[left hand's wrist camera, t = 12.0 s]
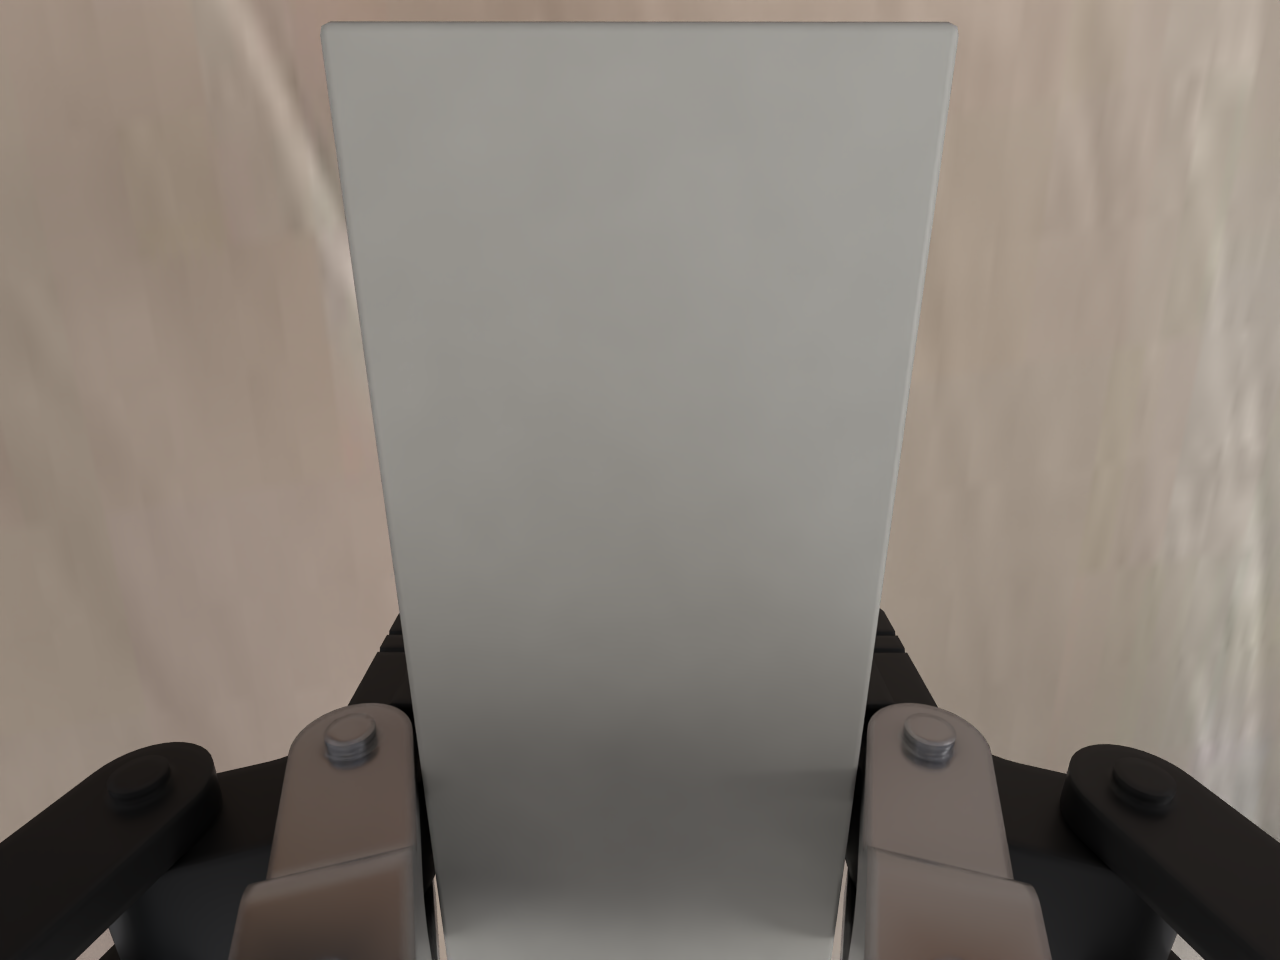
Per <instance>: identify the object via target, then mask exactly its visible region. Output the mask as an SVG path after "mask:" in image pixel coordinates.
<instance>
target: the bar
mask: <svg viewBox="0 0 1280 960" xmlns="http://www.w3.org/2000/svg"><path fill="white" fill-rule="evenodd" d="M320 37H321V44H322V52H323V59H324V66H325V73H326V81H327V88H328V95H329V102H330V110H331V117H332V124H333V132H334V139H335V146H336V153H337V161H338V168H339V175H340V182H341V190H342V197H343V204H344V212H345V219H346V226H347V233H348V241H349V248H350V255H351V262H352V270H353V277H354V284H355V292H356V299H357V306H358V313H359V321H360V328H361V335H362V342H363V350H364V357H365V364H366V372H367V379H368V386H369V393H370V401H371V408H372V415H373V422H374V430H375V437H376V444H377V452H378V459H379V466H380V473H381V481H382V488H383V495H384V502H385V510H386V517H387V524H388V532H389V539H390V546H391V553H392V561H393V568H394V575H395V582H396V590H397V597H398V604H399V612H400V619H401V626H402V633H403V641H404V648H405V655H406V662H407V670H408V677H409V684H410V692H411V699H412V706H413V713H414V721H415V728H416V735H417V742H418V750H419V757H420V764H421V772H422V779H423V786H424V793H425V801H426V808H427V815H428V822H429V830H430V837H431V844H432V852H433V859H434V866H435V873H436V881H437V888H438V895H439V902H440V910H441V917H442V924H443V932H444V939H445V946H446V953H447V960H831V956H832V949H833V942H834V935H835V927H836V920H837V913H838V906H839V898H840V891H841V884H842V877H843V869H844V862H845V855H846V848H847V840H848V833H849V826H850V819H851V811H852V804H853V797H854V790H855V782H856V775H857V768H858V761H859V753H860V746H861V739H862V732H863V724H864V717H865V710H866V703H867V695H868V688H869V681H870V674H871V666H872V659H873V652H874V645H875V637H876V630H877V623H878V616H879V608H880V601H881V594H882V587H883V579H884V572H885V565H886V558H887V550H888V543H889V536H890V529H891V521H892V514H893V507H894V500H895V492H896V485H897V478H898V471H899V463H900V456H901V449H902V442H903V434H904V427H905V420H906V413H907V405H908V398H909V391H910V384H911V376H912V369H913V362H914V355H915V347H916V340H917V333H918V326H919V318H920V311H921V304H922V297H923V289H924V282H925V275H926V268H927V260H928V253H929V246H930V239H931V231H932V224H933V217H934V210H935V202H936V195H937V188H938V181H939V173H940V166H941V159H942V152H943V144H944V137H945V130H946V123H947V115H948V108H949V101H950V94H951V86H952V79H953V72H954V65H955V57H956V50H957V43H958V28H957V26H955V25H953V24H951V23H949V22H329V23H327V24H325V25H323V26H321V33H320Z"/></svg>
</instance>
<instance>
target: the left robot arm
mask: <svg viewBox="0 0 1280 960" xmlns="http://www.w3.org/2000/svg"><path fill="white" fill-rule="evenodd" d="M845 860H846V863H847V866H848V871H847V878H846V885H845V892H844V905H843V921H842V937H841V953H840V960H1181V959H1180V958H1179V957H1178V956H1177V955H1176V954H1175V953H1174V952H1173V951H1172V950H1171V948H1172V946H1173V943H1174V940H1175V938H1176V935H1177V933H1178V934H1179V935H1180V936H1181V937H1182V938H1183V939H1184V940H1185V941H1186V942H1187V943H1188V944H1189V945H1190V946H1191V947H1192V948H1193V949H1194V950H1195V951H1196V952H1197V953H1198V954H1199V955H1200V956H1201V957H1202V958H1203V959H1204V960H1280V843H1279V842H1278V841H1276V840H1275V839H1274V838H1272V837H1271V836H1270V835H1268V834H1267V833H1266V832H1264V831H1263V830H1262V829H1260V828H1259V827H1258V826H1256V825H1255V824H1254V823H1252V822H1251V821H1250V820H1248V819H1247V818H1246V817H1244V816H1243V815H1242V814H1240V813H1239V812H1238V811H1236V810H1235V809H1234V808H1232V807H1231V806H1230V805H1228V804H1227V803H1226V802H1224V801H1223V800H1222V799H1220V798H1219V797H1218V796H1216V795H1215V794H1214V793H1212V792H1211V791H1210V790H1208V789H1207V788H1206V787H1204V786H1203V785H1202V784H1201V783H1199V782H1198V781H1197V780H1195V779H1194V778H1193V777H1191V776H1190V775H1188V774H1187V773H1186V772H1184V771H1183V770H1181V769H1180V768H1178V767H1176V766H1175V765H1173V764H1171V763H1169V762H1168V761H1166V760H1163V759H1161V758H1159V757H1157V756H1155V755H1152V754H1149V753H1147V752H1144V751H1141V750H1137V749H1134V748H1130V747H1125V746H1120V745H1111V744H1098V745H1092V746H1087V747H1085V748H1082V749H1080V750H1079V751H1077V752H1076V753H1075V754H1074V755H1073V756H1072V758H1071V761H1070V764H1069V767H1068V771H1067V774H1064V773H1060V772H1055V771H1051V770H1046V769H1042V768H1038V767H1033V766H1029V765H1024V764H1020V763H1016V762H1012V761H1009V760H1005V759H1002V758H1000V757H997V756H994V755H992V754H991V750H990V747H989V745H988V743H987V741H986V740H985V738H984V737H983V736H982V734H981V733H980V732H979V731H978V730H977V729H976V728H975V727H974V726H973V725H971V724H970V723H968V722H967V721H966V720H964V719H962V718H961V717H959V716H957V715H955V714H953V713H951V712H949V711H946V710H944V709H941V708H938V707H937V705H936V703H935V701H934V700H933V698H932V696H931V694H930V692H929V691H928V689H927V687H926V685H925V684H924V682H923V680H922V678H921V677H920V675H919V673H918V671H917V669H916V668H915V666H914V664H913V662H912V661H911V659H910V657H909V655H908V653H905V648H904V646H903V645H902V643H901V641H900V639H899V638H898V636H895V630H894V629H893V627H892V625H891V623H890V622H889V620H888V618H887V616H886V615H885V613H884V611H883V610H881V609H880V608H879V616H878V623H877V630H876V637H875V645H874V652H873V659H872V666H871V674H870V681H869V688H868V695H867V703H866V710H865V717H864V724H863V732H862V739H861V746H860V753H859V761H858V768H857V775H856V782H855V790H854V797H853V804H852V811H851V819H850V826H849V833H848V840H847V848H846V855H845ZM434 876H435V866H434V859H433V852H432V844H431V837H430V830H429V822H428V815H427V808H426V801H425V793H424V786H423V779H422V772H421V764H420V757H419V750H418V742H417V735H416V728H415V721H414V713H413V706H412V699H411V692H410V684H409V677H408V670H407V662H406V655H405V648H404V641H403V633H402V626H401V619H400V613H399V614H398V616H397V618H396V620H395V622H394V623H393V625H392V627H391V629H390V631H389V635H387V636H386V638H385V640H384V641H383V643H382V645H381V647H380V652H377V654H376V656H375V658H374V659H373V661H372V663H371V665H370V667H369V668H368V670H367V672H366V674H365V676H364V677H363V679H362V681H361V683H360V685H359V686H358V688H357V690H356V692H355V694H354V695H353V697H352V699H351V701H350V703H349V704H348V706H346V707H342V708H339V709H336V710H334V711H331V712H329V713H327V714H325V715H323V716H321V717H319V718H318V719H316V720H314V721H313V722H312V723H310V724H309V725H307V726H306V727H305V728H304V729H303V730H302V731H301V732H300V733H299V734H298V736H297V737H296V738H295V739H294V741H293V743H292V745H291V747H290V750H289V754H288V756H286V757H283V758H281V759H277V760H273V761H270V762H265V763H261V764H257V765H252V766H248V767H243V768H239V769H234V770H230V771H226V772H221V773H217V774H216V770H215V766H214V763H213V759H212V757H211V755H210V753H209V752H208V751H207V750H206V749H204V748H203V747H201V746H199V745H196V744H192V743H186V742H170V743H162V744H157V745H152V746H148V747H145V748H141V749H138V750H136V751H133V752H130V753H128V754H125V755H123V756H121V757H119V758H117V759H115V760H113V761H111V762H110V763H108V764H106V765H104V766H103V767H101V768H100V769H99V770H97V771H96V772H94V773H93V774H91V775H90V776H89V777H87V778H86V779H85V780H83V781H82V782H81V783H80V784H78V785H77V786H76V787H74V788H73V789H72V790H70V791H69V792H68V793H66V794H65V795H64V796H62V797H61V798H60V799H58V800H57V801H56V802H54V803H53V804H52V805H50V806H49V807H48V808H46V809H45V810H44V811H42V812H41V813H40V814H38V815H37V816H36V817H34V818H33V819H32V820H30V821H29V822H28V823H26V824H25V825H24V826H22V827H21V828H20V829H18V830H17V831H16V832H14V833H13V834H12V835H10V836H9V837H8V838H6V839H5V840H4V841H2V842H1V843H0V960H76V959H77V958H78V957H79V956H80V955H81V954H82V953H83V952H84V951H85V950H86V949H87V948H88V947H89V946H90V945H91V944H92V943H93V942H94V941H95V940H96V939H97V938H98V937H99V936H100V935H101V934H102V933H103V932H104V931H106V930H107V929H108V928H109V930H110V933H111V936H112V938H113V941H114V945H113V946H112V947H111V948H110V949H109V950H108V951H107V952H106V953H105V954H104V955H103V956H102V957H101V958H100V959H99V960H440V953H439V937H438V922H437V906H436V892H435V885H434Z"/></svg>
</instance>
